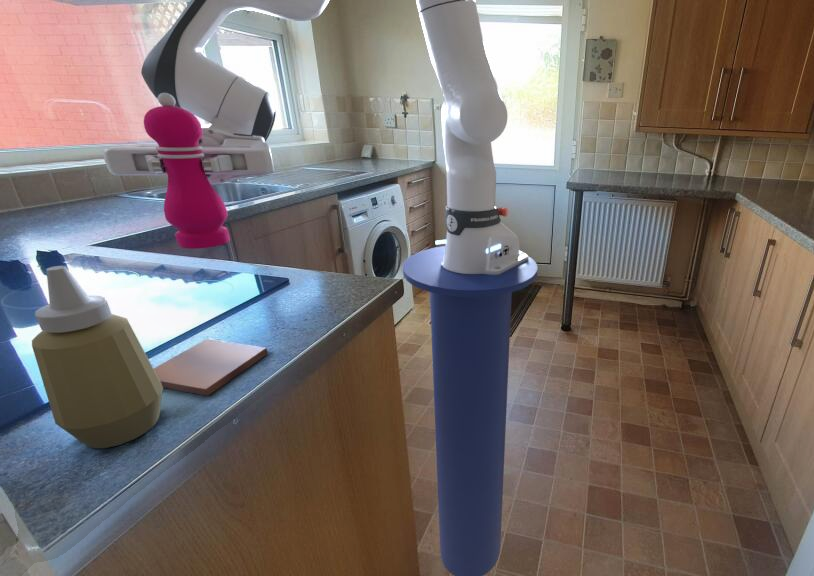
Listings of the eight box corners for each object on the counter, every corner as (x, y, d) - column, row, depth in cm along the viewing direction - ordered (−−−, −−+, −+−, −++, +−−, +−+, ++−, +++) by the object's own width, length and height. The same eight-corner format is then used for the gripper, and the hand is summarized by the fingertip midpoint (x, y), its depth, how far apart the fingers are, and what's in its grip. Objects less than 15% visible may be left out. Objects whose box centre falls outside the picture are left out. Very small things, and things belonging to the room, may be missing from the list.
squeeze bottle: (116, 465, 38) (37, 290, 31) (45, 451, 40) (-47, 280, 33) (191, 409, 46) (141, 257, 39) (129, 399, 47) (70, 250, 40)
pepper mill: (215, 233, 65) (180, 93, 57) (244, 240, 62) (211, 94, 54) (163, 244, 59) (115, 90, 51) (192, 253, 56) (146, 91, 48)
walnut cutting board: (209, 344, 58) (207, 338, 58) (268, 353, 57) (266, 347, 56) (140, 383, 50) (137, 376, 49) (207, 396, 48) (205, 389, 48)
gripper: (119, 133, 62) (72, 140, 50) (273, 136, 69) (263, 142, 58) (133, 176, 64) (91, 192, 52) (280, 174, 72) (272, 187, 60)
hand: (183, 166), depth 55 cm, fingers closed on pepper mill, 5 cm apart
